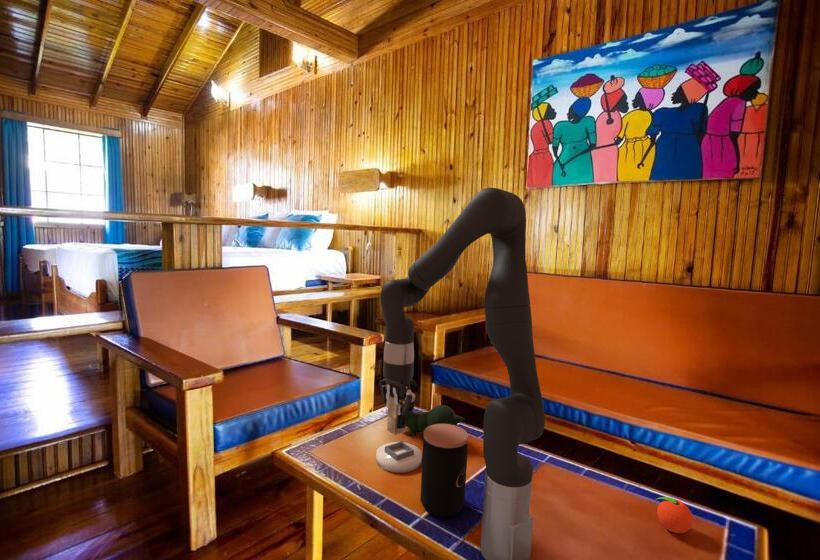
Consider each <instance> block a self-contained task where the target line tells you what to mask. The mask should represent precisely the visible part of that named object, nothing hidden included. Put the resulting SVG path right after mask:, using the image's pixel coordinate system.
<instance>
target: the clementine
mask: <svg viewBox="0 0 820 560" xmlns="http://www.w3.org/2000/svg"><path fill="white" fill-rule="evenodd" d="M658 500H662V501H661V502H660V503H659V504H658V506H657V510H656V511H657V513H656V514H657V518H658V520H659V522H660V524H662V526H663V528H665V529H666V530H668V531H669V532H672V533H674V534H684V533H686V532H688V531H689V530H690V529H691V528H692V527H693V524H694V523H693V520H694V517H693V515H692V512H691V510H690V509H689V507H688V506H687V505H686V504H685V503H684V502H683V501H680V500H679V499H676V498H672V497H668V496H667V497H666V496H661V497H658V498H657V497H656V498H655V501H658Z"/></svg>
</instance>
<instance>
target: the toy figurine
mask: <svg viewBox="0 0 820 560" xmlns="http://www.w3.org/2000/svg"><path fill="white" fill-rule="evenodd" d="M417 384H418V383H417V381H415V380H414V379H413V378H412V379H411V380H410V385H412V386H414V387H417V386H418V385H417ZM465 420H466V418H465V417H463V416H460V415H458V414H456V412H455V411H454V409H453V408H451V407H450V406H448V405H444V404H439V405H436V406H434V407H432V408H431V409H430V410H429V411H424V412H421V413H420V412H414V411H413V412H412V413H410V414H406V428H408V430H409V435H410V436H412V437H414V436H416V434H419V433H420V437H421V438H422V439H424V430H425V429H426V428H427V427H428V426H430V425H434V424H451V425H455V426H457V425H458V424H460V423H462V422H465Z"/></svg>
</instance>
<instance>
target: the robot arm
mask: <svg viewBox="0 0 820 560" xmlns="http://www.w3.org/2000/svg"><path fill="white" fill-rule="evenodd" d="M526 215H527V213H526V208H525V204H524V202H523V200H522V199H521V198H520V197H519V196H518V195H516V194H515V193H513V192H510V191H507V190H505V189H502V188H497V187H486V188H483V189H482V190H480V191H478V192H477V193H476V195H475V196H473V198H471V200H470V201H469V202H468V203H467V205H465V207H464V208H463V209H462V211H461V212H460V213H459V215H458V216H457V218H456V219H455V220H454V221H453V222H452V223H451V224H450V226H449V227H448V228H447V229H446V231H445V232H444V233H443V234H442V236H440V238H438V240H437V241H436V242H435V243H434V244H433V245H432V246H431V247H429V248H428V250H426V251H425V252H424V253H423V254H422V255H421V256H419V258H417V259H416V260H415V261H414V262H413V263H412V264H411V265H410V267H409V269H408V272H407V273H408V275H407V276H406V277H404V278H398V279H397V278H396V279H390V280H387V281H386V282H385V283H384V284H383V285H382V288H381V290H380V292H379V293H380V294H379V295H380V296H379V299H380V305H381V310H382V314H383V315H382V316H383V319H384V323H385V333H384V335H385V336H384V338H385V339H384V340H385V341H384V347H383V364H382V365H383V368H382V373H383V375H382V376H383V379H380V380H379V381H378V383H379V388H380V395H381V400H382V404H385V406H386V408H387V409H388V400H389V397H390V396H392V397H394V398H395V404H396V405H397V413H398V414H397V428H398V429H401V428H404V427H405V426H406V414H410V413H412V412H414V409H415V406H416V403H417V401H418V398H419V397H418V396H419V395H418V393H417V392H415V393H413V392H412V390H411V384H410V380H411V379H413V377H414V363H415V348H414V347H415V346H414V345H415V344H414V339H415V338H414V332H415V323H414V320H413V319H412V318H410V317H408V316H406V315H405V309H404V308H409V307H413V306H414V305H416V304H417V303H419V302H420V301H422V300H423V299H424V297H425V296H426V295H427V293H428V292H429V291H430V289H431V288H432V287H433V286H435V285H436V284H437V283H438V282H440V281H441V280H442V279H443V278H445V277H446V276H447V275H448V274H449V273H450V272H451V271H452V270H453V269H454V267H455V266H456V264H457V263H458V260H459V259H460V257H461V255H462V254H463V252H464V251H465V250H466V249H467V248H468V247H469V246H470V245H471V244H473V243H474V242H476V241H477V240H479V239H480V238H483V237H484V236H485V235H487V234H488V235H490V238H491V246H492V253H493V255H492V257H493V259H492V267H491V272H490V274H489V278H488V281H487V284H486V285H487V286H486V288H485V293H484V299H483V300H484V301H483V304H484V305H483V306H484V307H483V309H484V318H485V319H484V320H485V329H486V333H487V335H488V336H487V337H488V338H489V340H490V342H491V345H493V347H494V349H495V351H496V352H497V353H498V355H499V356H500V358H501V360H502V362H504V365H505V367H506V370H507V373H508V379H509V388H510V395H509V396H505V397H501V398H496V399H493V400H491V401H490V402H488V404H487V406H486V407H485V410H484V414H483V423H482V424H483V430H482V431H483V435H482V436H483V439H482V440H483V441H482V444H483V445H482V449H483V453H482V454H483V458H484V463H485V474H484V488H483V500H482V501H483V502H482V503H483V505H482V518H481V535H480V552H481V555H482V557H483V558H484V559H485V560H531V550H532V541H533V539H532V538H533V527H534V516H533V515H532V514H531V513H530V506H531V498H532V497H531V495H532V482H533V474H534V473H533V472H534V470H533V468H534V467H533V464H532V462H531V461H530V460H529V458H528V457H526V456H525V455H522V454H521V453H519V452H518V450H519V449H518V448H519V446H520V445H523V444H526V443H528V442H533V441H535V440H537V439H538V438H540V437H541V436H542V435H543V434H544V431H545V426H546V416H545V415H546V414H545V408H544V402H543V397H542V393H541V392H542V391H541V387H540V386H541V385H540V381H539V376H538V370H537V363H536V353H535V344H534V335H533V334H534V333H533V319H532V308H531V307H532V306H531V299H530V292H529V291H530V290H529V279H528V278H529V276H528V268H527V258H526V257H527V256H526V244H527V243H526V236H527V234H526V233H527V216H526ZM402 399H405V400H404V401H400V402H399V400H402ZM401 405H404V406H403V409H401Z"/></svg>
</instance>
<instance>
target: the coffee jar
mask: <svg viewBox="0 0 820 560" xmlns="http://www.w3.org/2000/svg"><path fill="white" fill-rule="evenodd" d="M468 441H469V434H468V432H467V431H466V430H465V429H464V428H463V427H460V426H455V425H451V424H434V425H430V426H428V427H427V428H426V429H425V430H424V438H423V440H422V462H421V481H420V498H419V501H420V503H421V505H422V507H424V510H425V511H426V512H428V513H429V514H431V515H433V516H436V517H439V518H440V517H443V518H447V517H453V516H455V515H457V514H458V513H460V512H461V510H462V509H463V507H464V505H465V500H466V482H467V467H468V452H469V451H468V450H469V449H468V448H469V447H468Z"/></svg>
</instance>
